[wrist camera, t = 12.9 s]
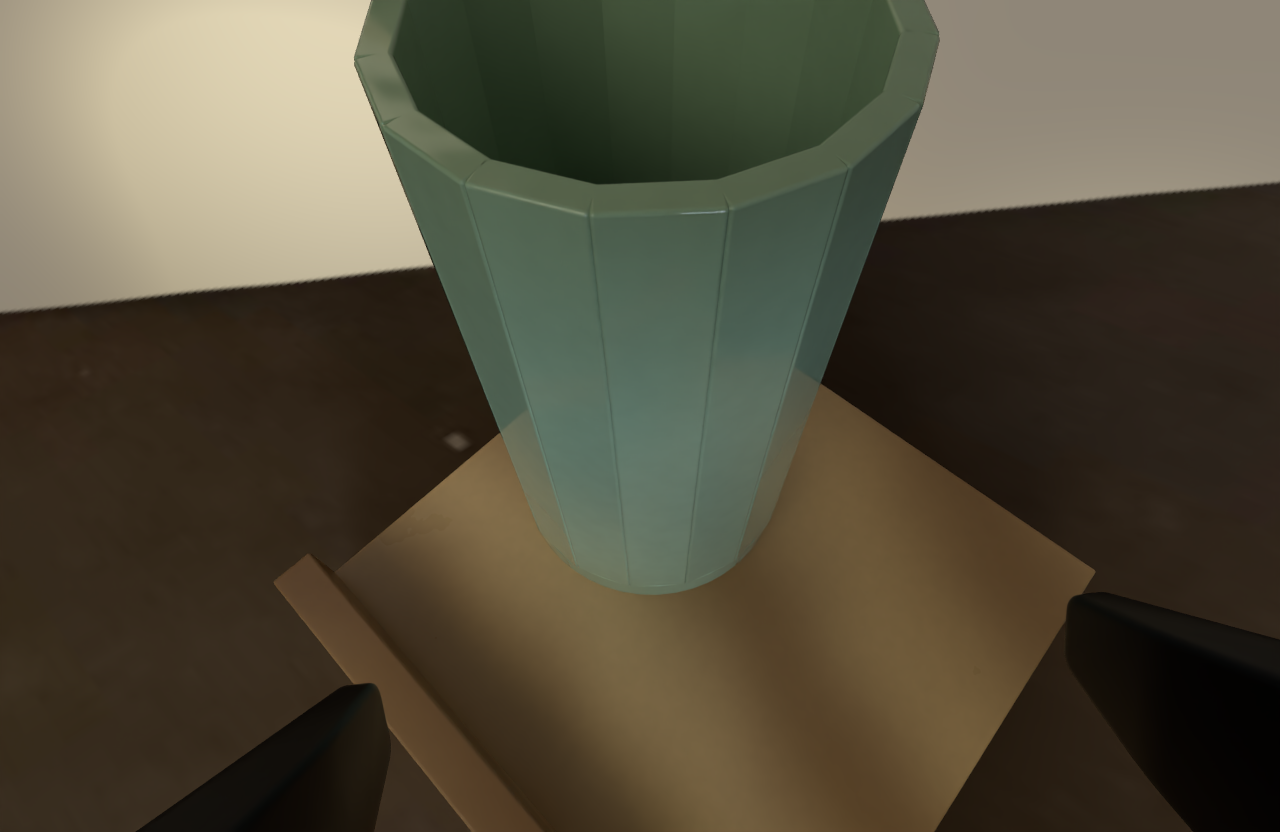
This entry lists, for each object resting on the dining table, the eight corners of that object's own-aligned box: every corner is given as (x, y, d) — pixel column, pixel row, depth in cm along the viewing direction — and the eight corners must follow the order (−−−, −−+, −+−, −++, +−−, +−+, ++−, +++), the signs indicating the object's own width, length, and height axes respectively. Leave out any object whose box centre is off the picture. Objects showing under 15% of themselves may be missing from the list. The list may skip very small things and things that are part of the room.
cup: (660, 653, 16) (668, 330, 6) (477, 481, 19) (244, 29, 8) (825, 465, 19) (1044, -5, 8) (644, 335, 21) (631, -158, 11)
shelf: (722, 1074, 15) (751, 1183, 11) (359, 638, 20) (271, 581, 16) (1023, 614, 20) (1133, 549, 16) (672, 356, 26) (676, 250, 21)
